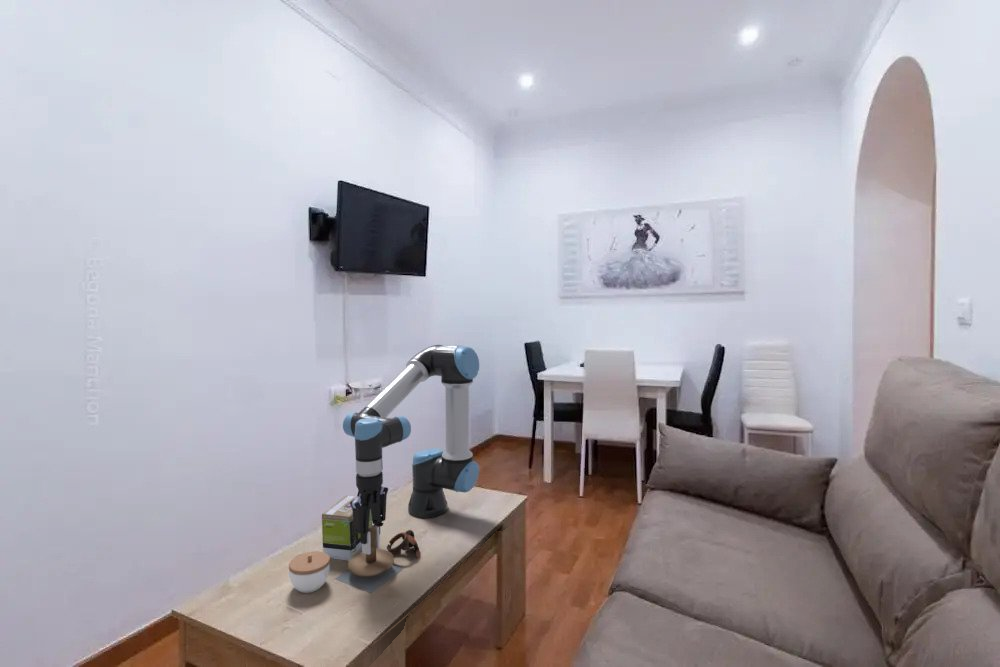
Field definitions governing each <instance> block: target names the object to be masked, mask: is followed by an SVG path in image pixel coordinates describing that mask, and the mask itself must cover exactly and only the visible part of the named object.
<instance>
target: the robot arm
mask: <svg viewBox="0 0 1000 667" xmlns="http://www.w3.org/2000/svg"><path fill="white" fill-rule="evenodd" d="M479 371H480V359H479V357H478V354H477V352H476V351H475V350H474V349H473V347H470V346H465V345H448V344H447V345H443V344H434V345H430V346H428V347H426V348H424V349H423V350H420V351H419V352H417V353H416V354H415V355H414V356H413V357H411V358H410V359H409V360H408V361H407V362H406V364H405V367H404V369H403V370H402V371H401V372H400V373H398V374H397V376H395V377H394V378H393V379H392V380H391V381H390V382H389V383H388V384H387V385H386V386H384V388H383V389H382V390H381V391H380V392H379V393H378V394H377V395H375V397H373V398H372V400H370V401H369V403H367V405H365V406H364V407H363V409H361V410H360V411H359V412H351V413H348V414H347V415H345V417H344V418H343V422H342V429H343V432H344V433H345V434H346V436H350V437H352V438H354V447H355V449H354V450H355V473H356V475H355V486H356V488H357V489H358V491H357V495H356V497H357V498H356V499H355V501H351V502H350V505H351V507H352V512H353V522H354V532H356V533H359V534H360V538H361V543H362V550H361V552H362V553H365V554H368V555H369V554H371V538H370V532H369V531H368V527H369V516H370V509H371V515H372V525H374V526H376V549H381V548H380V547H381V546H380V545H381V544H380V540H381V539H380V535H381V527H383V526H384V522H385V521H386V519H387V518H386V517H387V515H386V514H387V496H388V492H389V488H388V487H385V486H382V485H383V482H384V480H383V479H384V476H383V475H384V474H383V468H384V466H383V448H386V447H388V446H391V445H394V444H397V443H401V442H403V441H404V440H407V438H409V437H410V435H411V433H412V426H411V423H410V421H409V420H408V419H407V418H406V417H405V416H401V415H400V416H395V417H388V416H390V415H391V413H393V411H394V410H395V409H396V408H397V407H398V406H399V405H400V404H401V403H402V402H403V401H404V400H405V398H407V397H408V396H409V395H410V394H411V393H412V392H413V391H414V389H415V388H416V387H418V385H419V384H420V383H421V382H426V381H427V380H428V379H429V378H431V377H434V376H438V377H440V378H441V384H442V385H443V386H444V387H445V451H443V450H442V449H441V448H430V449H424V450H420V451H417V452H416V453H414V455H413V456H412V464H411V466H412V467H411V468H412V469H411V470H412V493H411V495H410V498H409V502H408V505H407V511H408V514H410V515H411V516H413V517H416V518H421V519H422V518H424V519H425V518H427V519H428V518H429V519H430V518H435V517H439V516H441V515H444V514H446V512H447V511H448V501H447V499H446V495H445V491H444V489H445V490H450V491H452V492H453V491H454V492H456V493H468V492H470V491H471V490H472V489H473V488H474V487H475V485H476V483H477V481H478V478H479V476H480V475H479V474H480V465H479V463H478V462H477V461H475V460H474V456H473V455H474V454H473V452H472V451H471V450H470V445H469V444H470V438H469V437H470V431H469V430H470V429H469V428H470V420H469V419H470V418H469V415H470V410H469V409H470V408H469V406H470V405H469V404H470V400H469V398H470V396H469V394H470V391H469V390H470V389H469V388H470V386H471V385H472V383H474V379H475V378H476V377H477V376H478V374H479Z"/></svg>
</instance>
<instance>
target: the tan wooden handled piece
mask: <svg viewBox="0 0 1000 667" xmlns="http://www.w3.org/2000/svg"><path fill="white" fill-rule="evenodd" d="M368 531H369V532H370V538H371V554H369V555H368V554H365V553H362V551H360V552H359V553H357V554H356V555H354V556H353V557H352V558H351V559H350V560H348V562H347V570H349V571H350V572H351V573H352V574H354V575H357V576H374V575H378V574H381V573H383V572H385V571H387V570H388V569H389V568H391V566H392V565H394V562H395V559H394V558H395V557H394V556H393V554H392V553H391V552H389V551H388V550H387V549H381V548H379V549H376V526H374V524H372V525H369V527H368Z"/></svg>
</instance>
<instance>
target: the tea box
mask: <svg viewBox="0 0 1000 667" xmlns="http://www.w3.org/2000/svg"><path fill="white" fill-rule="evenodd" d="M356 498H357V496H354V495H353V496H351V495H345V496H343V497H342V498H340V500H338V501H337V502H336V503H334V504H333V505H332V506H331V507H329V508H328V509H327V510H325V511H324V512H323V513H322V514H321V534H322V535H321V536H322V552H324V553H327V554H328V555H329V556H330V559H335V560H344V561H349V560H350V559H351V558H352V557H353V556H354V555H356V554H357V553H360V552H362V543H361V538H360V534H359V533H356V532H354V522H353V512H352V507H351V505H350V502H351V501H355V499H356ZM369 525H373V522H372V515H371V509H370V516H369Z"/></svg>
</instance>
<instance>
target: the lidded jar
mask: <svg viewBox="0 0 1000 667" xmlns="http://www.w3.org/2000/svg"><path fill="white" fill-rule="evenodd" d="M330 563H331V558H330V556H329V555H328V554H327V553H324V552H323V551H319V550H318V551H309V552H303V553H301V554H298V555H296V556H295V557H293V558H292V559H291V560H290V561H289V563H288V570H289V579H290V582H291V585H292V587H293V588H294V589H295V590H296V591H298V592H300V593H302V594H303V593H304V594H308V593H314V592H315V591H317V590H319V589H320V588H321V587H322V586H324V584H326V582H327V579H328V577H329V575H330V574H329V573H330V566H331V565H330Z"/></svg>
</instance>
